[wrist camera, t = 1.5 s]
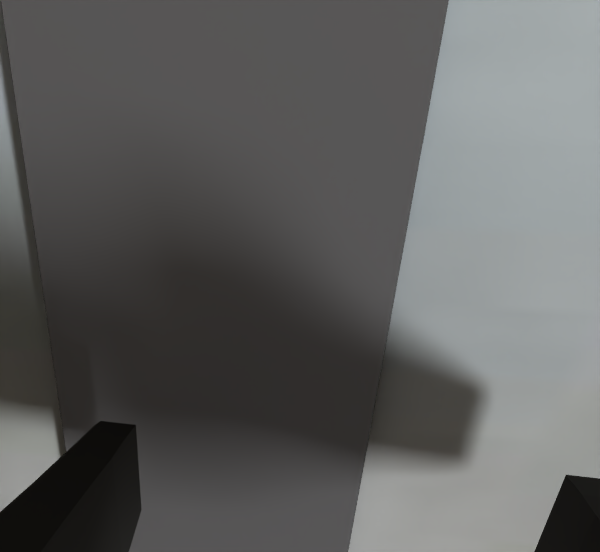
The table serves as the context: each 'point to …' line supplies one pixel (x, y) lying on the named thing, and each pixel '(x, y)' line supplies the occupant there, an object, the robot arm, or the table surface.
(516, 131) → the table surface
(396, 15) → the strip
